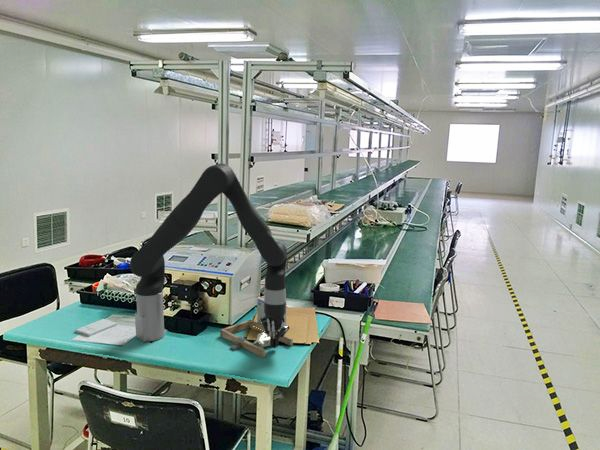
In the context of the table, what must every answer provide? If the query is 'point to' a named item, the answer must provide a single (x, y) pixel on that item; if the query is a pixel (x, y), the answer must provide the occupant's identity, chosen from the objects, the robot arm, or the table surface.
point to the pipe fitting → (262, 340)
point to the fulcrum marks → (237, 346)
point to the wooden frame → (245, 344)
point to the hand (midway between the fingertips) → (274, 347)
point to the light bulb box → (262, 310)
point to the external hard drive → (96, 327)
